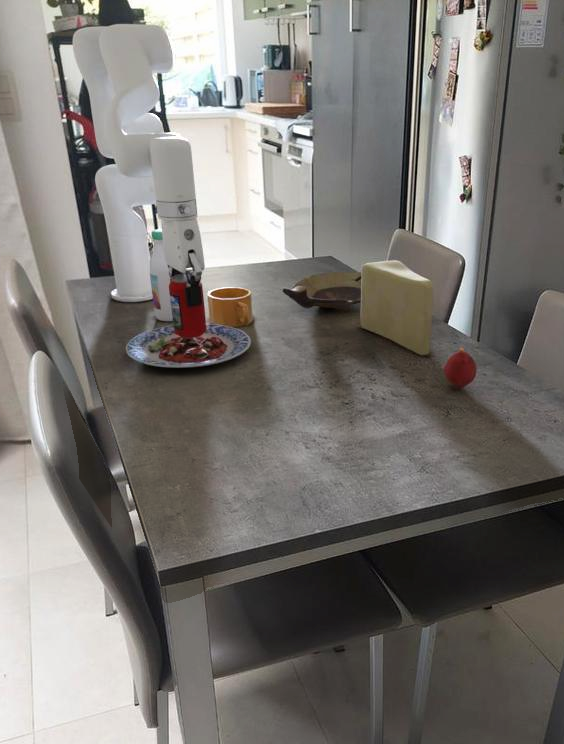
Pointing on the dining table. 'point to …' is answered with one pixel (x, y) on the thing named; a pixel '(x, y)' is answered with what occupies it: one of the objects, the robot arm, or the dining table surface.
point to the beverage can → (185, 310)
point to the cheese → (397, 304)
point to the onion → (460, 369)
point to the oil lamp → (327, 290)
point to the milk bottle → (160, 279)
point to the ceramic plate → (188, 347)
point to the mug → (230, 306)
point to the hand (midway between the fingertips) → (187, 300)
